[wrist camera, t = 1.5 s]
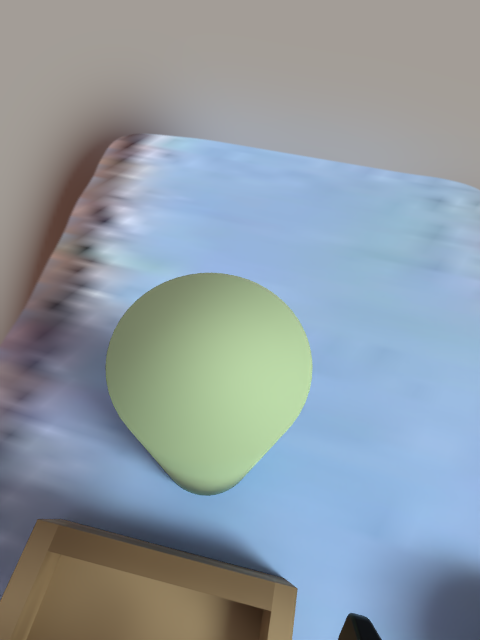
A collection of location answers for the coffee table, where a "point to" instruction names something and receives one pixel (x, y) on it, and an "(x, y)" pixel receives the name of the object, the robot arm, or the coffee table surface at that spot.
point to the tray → (136, 592)
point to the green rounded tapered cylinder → (208, 376)
